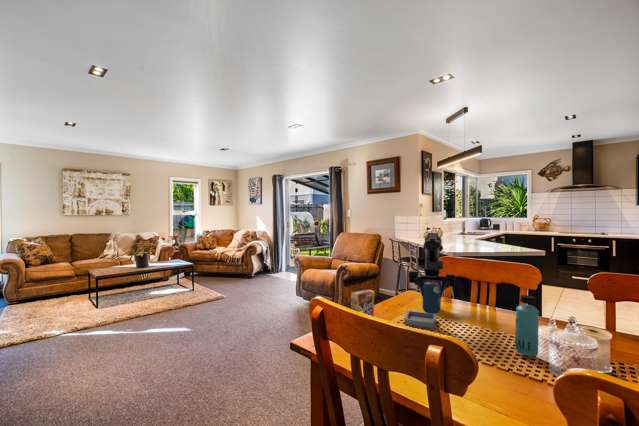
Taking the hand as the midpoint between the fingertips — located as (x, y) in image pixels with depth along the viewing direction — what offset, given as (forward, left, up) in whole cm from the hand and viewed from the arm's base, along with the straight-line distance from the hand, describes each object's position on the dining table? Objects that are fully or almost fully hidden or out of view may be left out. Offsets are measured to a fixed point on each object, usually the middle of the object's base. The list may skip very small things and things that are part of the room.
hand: (431, 296), depth 123 cm
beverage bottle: (+14, +30, -13) cm, 35 cm away
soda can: (-1, 0, -7) cm, 7 cm away
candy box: (+14, -25, -13) cm, 32 cm away
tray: (-4, -4, -12) cm, 14 cm away
